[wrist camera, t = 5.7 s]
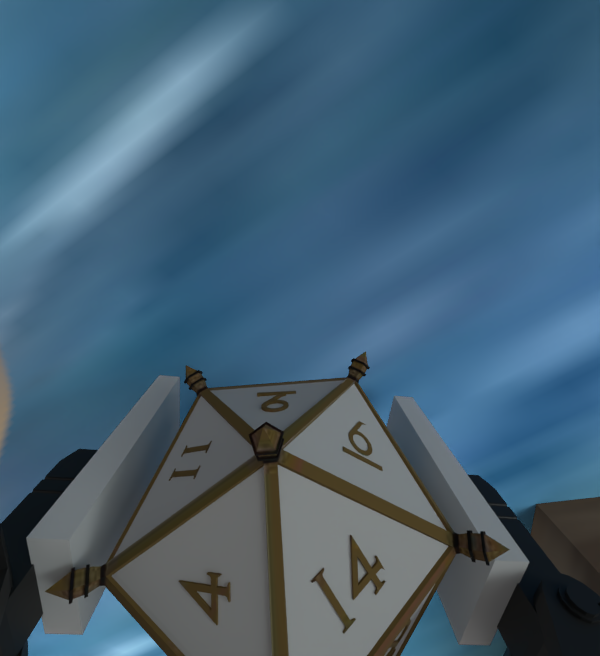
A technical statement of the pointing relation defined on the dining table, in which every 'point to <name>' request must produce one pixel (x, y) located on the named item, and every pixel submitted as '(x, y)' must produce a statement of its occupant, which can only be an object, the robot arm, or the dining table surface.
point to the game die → (281, 529)
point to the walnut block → (571, 537)
